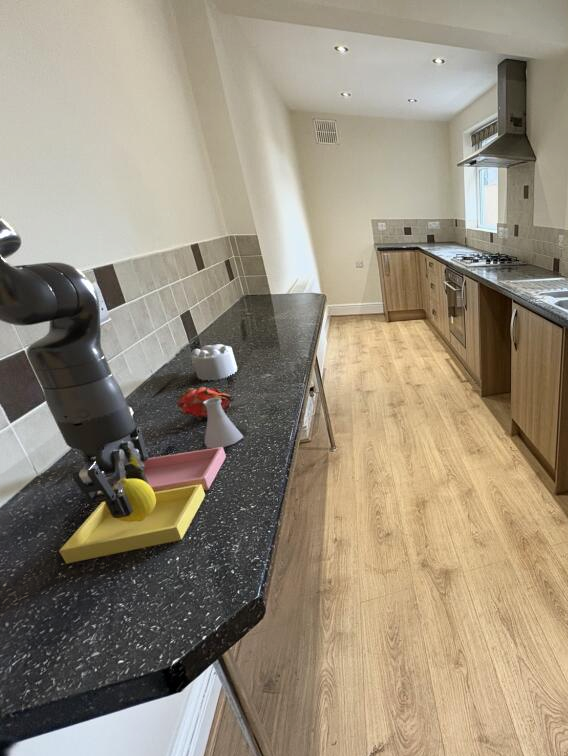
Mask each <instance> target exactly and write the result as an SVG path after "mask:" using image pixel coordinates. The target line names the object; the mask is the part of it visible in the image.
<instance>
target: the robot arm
mask: <svg viewBox="0 0 568 756" xmlns="http://www.w3.org/2000/svg"><path fill="white" fill-rule="evenodd" d="M21 246H22V238H21V236H20V234H19V233H18V231H16V229H15V228H14V227H13V226H12V225H11V224H10V223H9V222H8V221H7V220H6V219H5V218H4V217H2V216H1V215H0V321H1V322H3V323H6V324H9V325H13V326H21V327H26V326H27V327H28V326H33V325H38V324H43V323H47V322H49V330H48V332H47V334H45V335H44V336H43V337H42V338H40V339H38V340H36V341H34V342H33V343H31V344H30V345H28V347H27V349H26V356H27V359H28V362H29V364H30V366H31V368H32V370H33V372H34V374H35V377H36V379H37V380H38V382H39V384H40V386H41V389H42V391H43V395H44V399H45V402H46V406H47V407H48V409H49V411H50V413H51V415H52V417H53V420H54V421H55V423H56V426H57V427H58V430H59V432H60V434H61V436H62V438H63V440H64V442H65V444H66V445H67V446H68V447H69V448H73V449H75V450H79V451H81V452H82V453H83V461H84V464H85V465H84V467H83V468H82V469H80V470H75V471H73V472H72V474H71V477H72V479H73V481H74V482H75V484H76V485H77V487H78V488H79V489H80V490H81V493H83V495H84V496H85V498H86V499H87V500H88V502H89V504H91V505H94V504H98V503H100V504H101V503H102V502H106V504H107V506H108V508H109V511H110V512H111V515H112V516H113V517H114V518H121V517H126V516H129V515H130V514H131V513H132V511H133V510H132V508H131V506H130V504H129V501H128V499H127V497H126V495H125V493H124V491H123V484H122V480H124V479H125V478H126V479H140V480H143V481H145V482H146V483H148V481H147V479H146V476H145V474H144V471H143V470H144V469H145V465H144V462H145V461H148V458H149V455H148V451H147V448H146V444H145V441H144V437H143V433H142V431H141V427H139V426H136V423H135V421H134V417H133V414H132V415H131V413H130V410H129V408H128V407H129V406H128V403H127V401H126V398H125V396H124V393H123V390H122V389H121V386H120V384H119V383H118V381H117V379H116V378H115V377H114V375H113V372H112V369H111V367H110V365H109V363H108V360H107V358H106V355H105V352H104V349H103V348H102V342H101V339H102V338H101V337H102V335H101V334H102V331H101V312H100V310H101V309H100V301H99V296H98V292H97V290H96V288H95V286H94V284H93V283H92V281H91V280H90V279H89V278H88V277H87V276H86V274H85V273H83V272H82V271H81V270H80V269H78V268H76V267H75V266H73V265H70V264H69V263H68V264H67V263H64V262H57V261H56V262H53V261H52V262H41V263H33V264H31V263H30V264H22V265H12V264H11V263H9V262H8V261H7V260H6V259H7V258H9V257H11V256H13V255H14V254H16V252H18V251H19V249H20V248H21ZM132 417H133V418H132ZM136 449H138V450H139V452H137V451H136ZM110 474H115V475H112V476H106V477H105V475H110ZM110 483H112V485H113V486H114V489H112V487H113V486H111V484H110ZM148 484H149V483H148Z"/></svg>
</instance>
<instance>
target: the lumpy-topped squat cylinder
mask: <svg viewBox="0 0 568 756" xmlns="http://www.w3.org/2000/svg"><path fill="white" fill-rule="evenodd" d="M190 357H191V361H192V364H193V367H194V370H195V372H196V373H195V374H196V376H197V379H198V378H199V379H198V380H200V379H201V380H200V381H204V380H208V381H207V382H211V381H210V380H214V381H218V379H219V380H223V379H226V378H229V377H231V376H232V374H233V375H235V374H236V373H237V371H238V365H237V362H236V358H235V355H234V352H233V348H232V346H230V345H225V344H222V343H217V344H209V345H203V346H202V347H201V348H194V349H193V350H192V351H191V356H190ZM235 372H236V373H235ZM230 375H231V376H230ZM228 376H229V377H228ZM225 377H226V378H225ZM222 378H223V379H222Z"/></svg>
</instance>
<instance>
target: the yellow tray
mask: <svg viewBox="0 0 568 756" xmlns="http://www.w3.org/2000/svg"><path fill="white" fill-rule="evenodd" d="M154 493H155V497H156V504H155V507H154V509H153V510H152V512H151V513H150V514H149V515H148V516H146V517H145V518H144V519H143V520H142V521H133V522H126V521H121V520H119V519H117V518H114V517H113V516H112V515H111V512H110V511H109V508H108V506H107V504H106V502H100V504H99V505H98V506H97V507H96V509H94V510H93V511H92V512H91V514H90V515H89V516H88V517H87V518H86V519H85V521H84V522H83V523H82V524H81V525H80V526H79V527H78V529H77V530H76V531H75V532H74V533H73V534H72V535H71V537H70V538H69V539H68V540H67V541H66V542H65V544H63V546H62V547H61V548H60V549H59V551H58V552H59V553H60V555H61V557H62V558H63V561H64V562H65V564H66V565H67V564H71V563H75V562H81V561H86V560H90V559H96V558H101V557H106V556H111V555H115V554H121V553H125V552H129V551H130V552H131V551H133V550H134V551H135V550H139V549H145V548H148V547H153V546H157V545H158V546H159V545H163V544H168V543H171V542H177V541H182V540H183V538H184V536H185V535H186V533H187V531H188V529H189V527H190V525H191V523H192V521H193V519H194V517H195V515H196V514H197V512H198V510H199V508H200V506H201V504H202V503H203V501H204V499H205V497H206V493H205V490H203V487H202V484H199V485H193V486H187V487H181V488H176V489H170V490H164V491H159V492H154Z"/></svg>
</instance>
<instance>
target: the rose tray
mask: <svg viewBox="0 0 568 756" xmlns="http://www.w3.org/2000/svg"><path fill="white" fill-rule="evenodd" d="M226 458H227V456H226V452H225V449H224V447H218V448H206V449H205V448H204V449H198V450H193V451H187V452H179V453H173V454H166V455H161V456H154V457H148V461H145V462H144V465H145V469H144V470H143V471H144V474H145V476H146V479H147V481H148V483H149V485H150V486H151V488H152V489H153V491H154V492H159V491H164V490H170V489H176V488H181V487H187V486H193V485H199V484H202V487H203V490H204V491H207V490H209V489H210V488H211V486H212V484H213V482H214V481H215V478H216V477H217V475H218V472H219V471H220V468H221V467H222V465H223V464H224V462H225V460H226ZM125 479H126V478H125Z"/></svg>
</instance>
